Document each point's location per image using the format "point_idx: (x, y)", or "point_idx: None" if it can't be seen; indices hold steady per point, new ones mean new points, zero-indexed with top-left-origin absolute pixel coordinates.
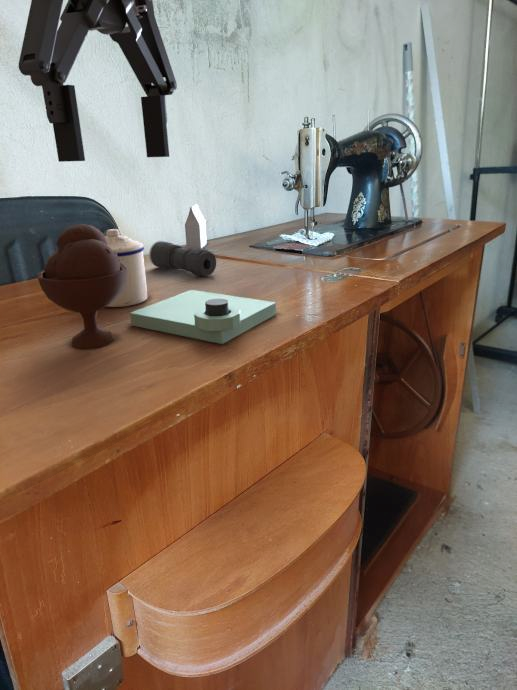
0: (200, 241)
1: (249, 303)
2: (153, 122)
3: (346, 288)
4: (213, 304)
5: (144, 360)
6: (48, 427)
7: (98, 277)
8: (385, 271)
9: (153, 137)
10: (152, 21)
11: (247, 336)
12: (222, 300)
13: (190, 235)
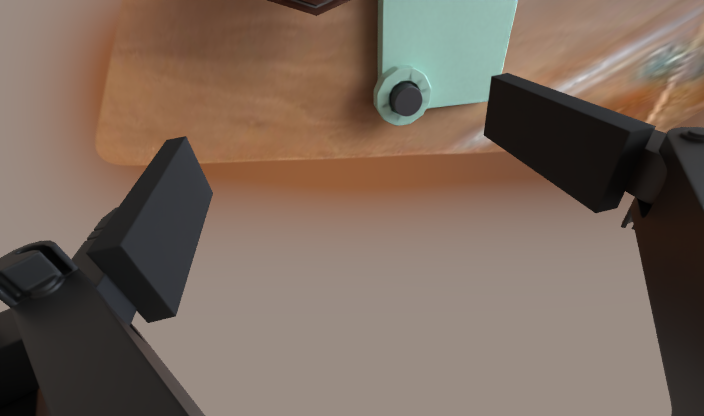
0: None
1: (482, 73)
2: (545, 140)
3: (604, 107)
4: (397, 107)
5: (296, 67)
6: (144, 115)
7: (289, 4)
8: (688, 108)
9: (516, 121)
10: None
11: None
12: (415, 105)
13: None
